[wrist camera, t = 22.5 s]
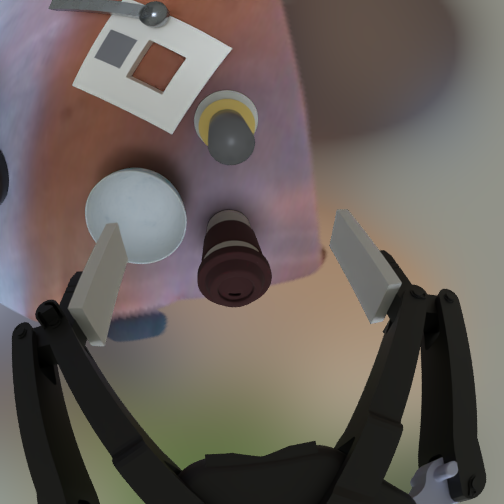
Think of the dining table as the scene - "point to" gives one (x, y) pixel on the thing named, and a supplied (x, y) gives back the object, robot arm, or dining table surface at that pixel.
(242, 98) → the mat
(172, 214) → the chinaware
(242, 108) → the plug
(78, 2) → the grey lever handle
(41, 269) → the dining table surface
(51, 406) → the robot arm
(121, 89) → the socket block
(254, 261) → the coffee cup
